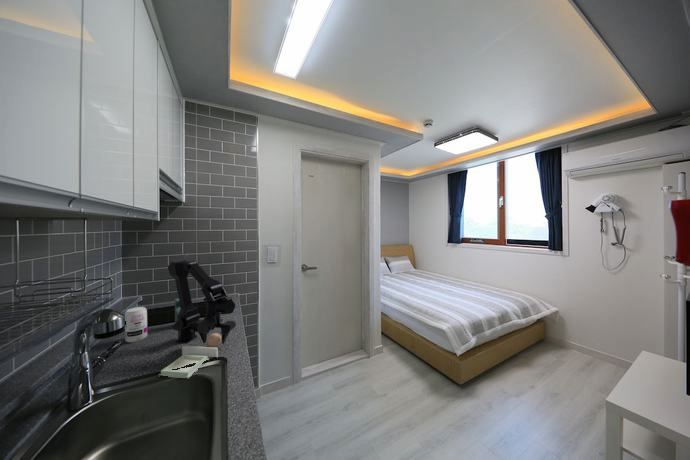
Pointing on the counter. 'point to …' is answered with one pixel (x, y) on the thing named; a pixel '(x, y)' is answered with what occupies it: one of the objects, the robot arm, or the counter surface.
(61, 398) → the counter surface
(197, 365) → the sage mat
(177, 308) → the can
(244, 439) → the counter surface
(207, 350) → the low wall
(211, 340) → the ball
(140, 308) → the supplement can
